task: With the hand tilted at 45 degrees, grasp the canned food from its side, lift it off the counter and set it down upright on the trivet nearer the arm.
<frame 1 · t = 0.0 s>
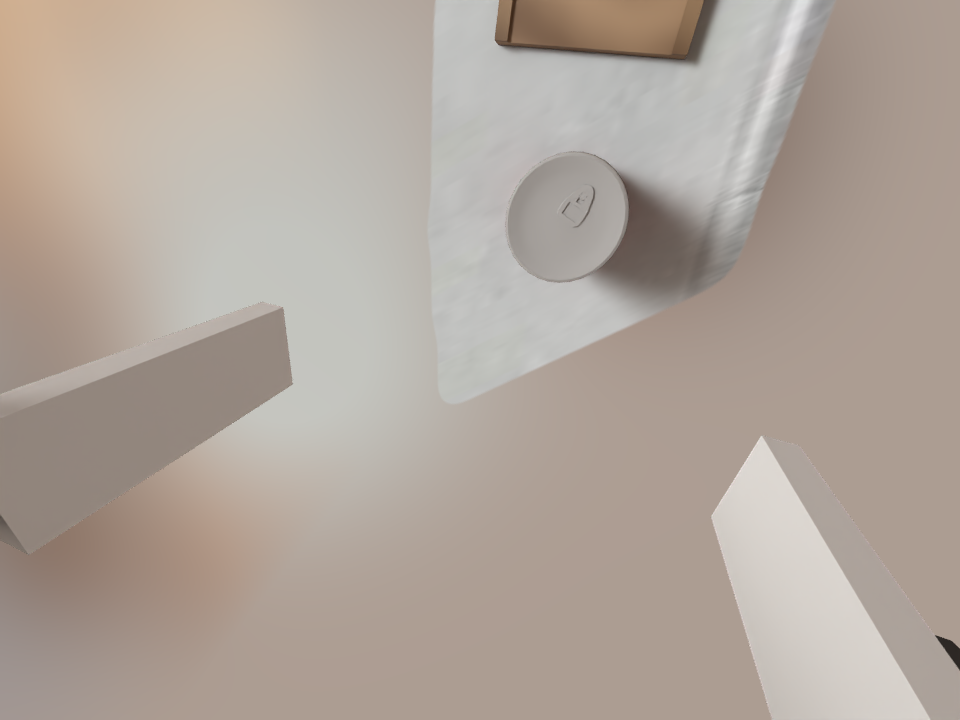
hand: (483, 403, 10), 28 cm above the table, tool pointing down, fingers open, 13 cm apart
canned food: (576, 209, 33), on the table
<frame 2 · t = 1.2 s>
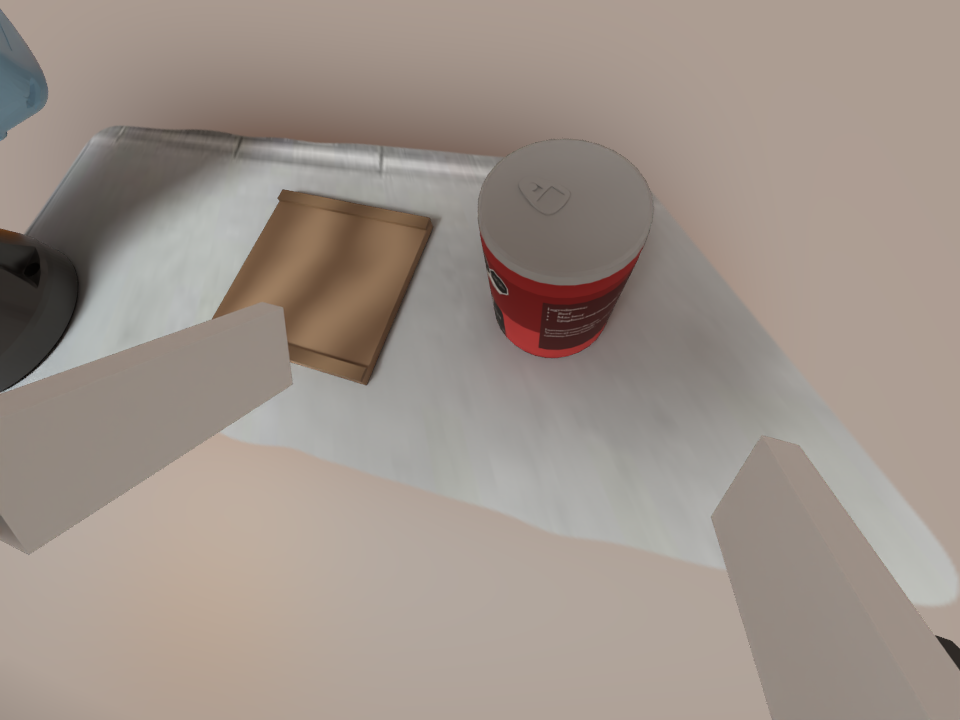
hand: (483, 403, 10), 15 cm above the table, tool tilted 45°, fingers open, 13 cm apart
canned food: (548, 312, 27), on the table
trivet: (324, 281, 30), on the table
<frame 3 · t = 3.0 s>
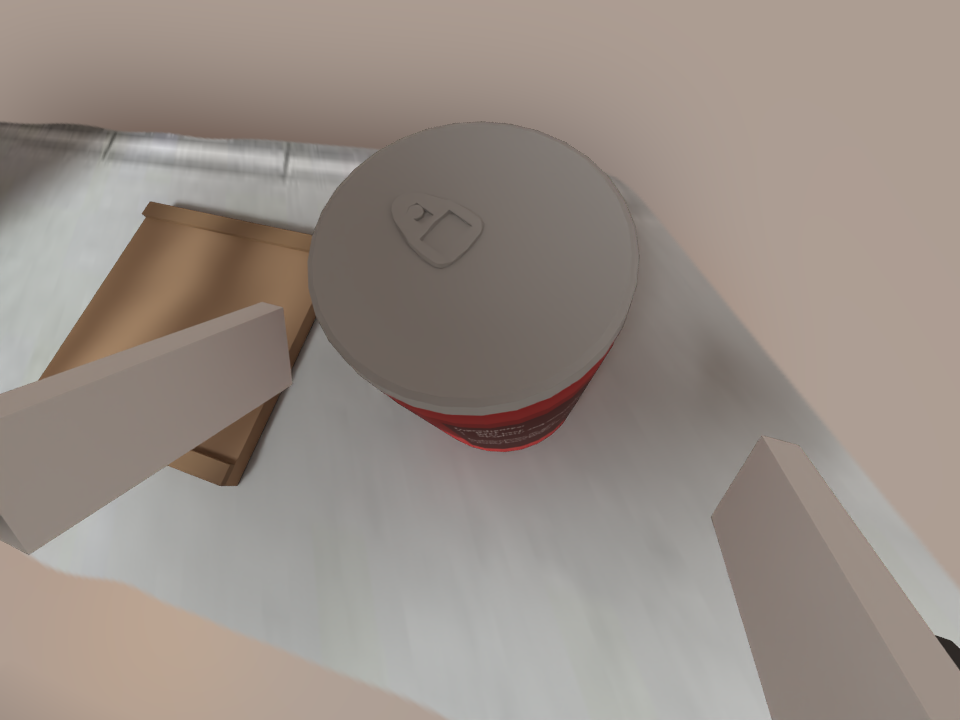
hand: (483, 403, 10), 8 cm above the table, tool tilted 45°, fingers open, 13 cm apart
canned food: (498, 376, 19), on the table
trivet: (195, 328, 22), on the table
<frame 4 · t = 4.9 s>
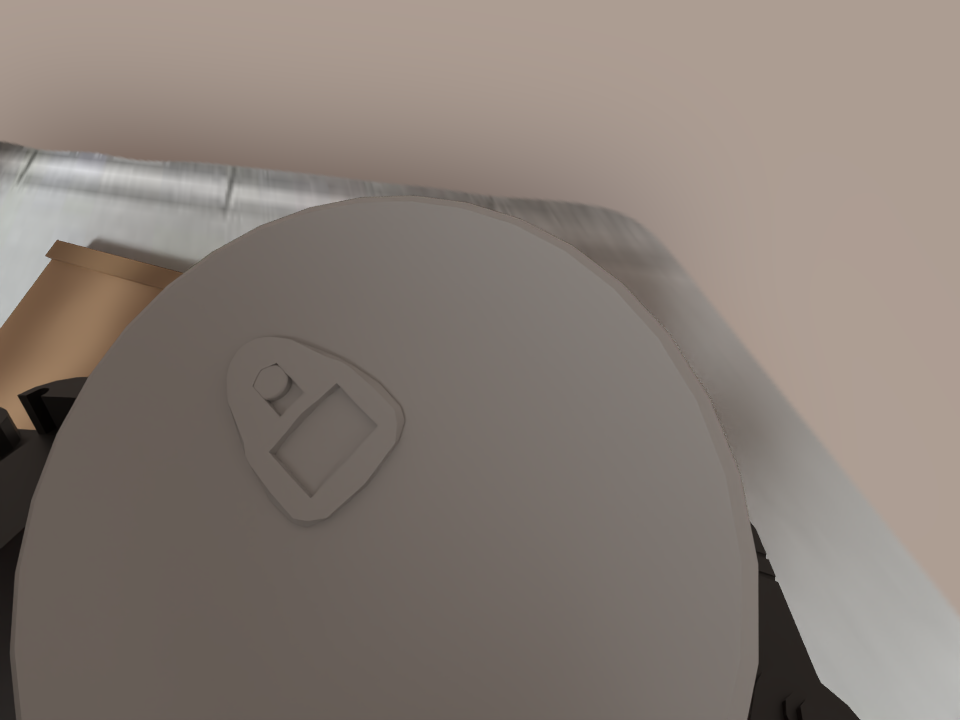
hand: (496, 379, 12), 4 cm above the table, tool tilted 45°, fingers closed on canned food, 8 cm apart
canned food: (479, 488, 14), on the table, touching gripper
trivet: (99, 406, 17), on the table
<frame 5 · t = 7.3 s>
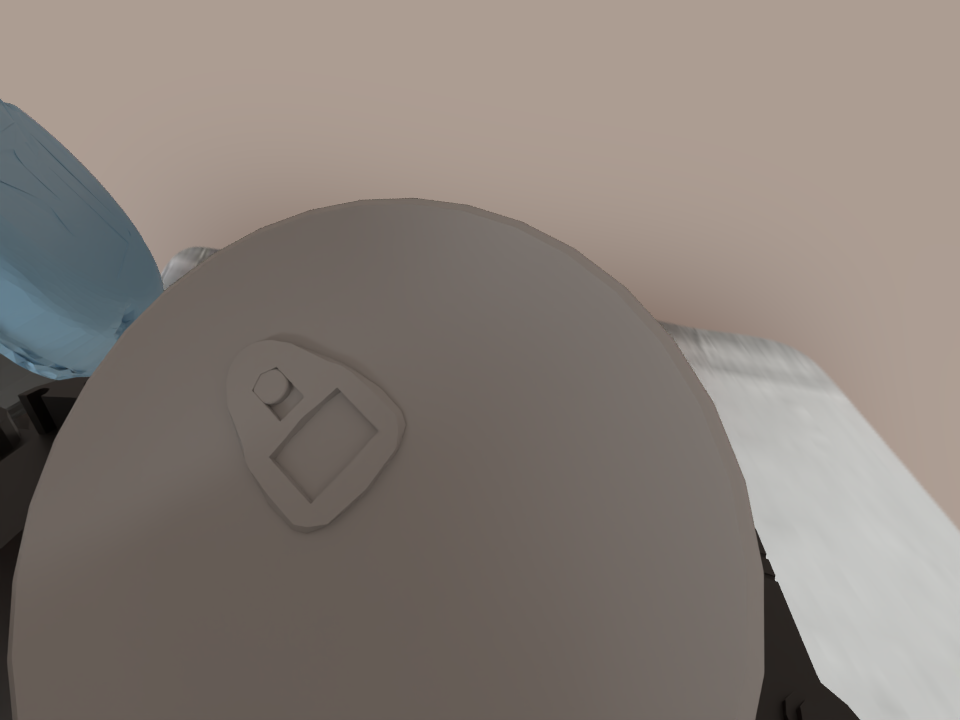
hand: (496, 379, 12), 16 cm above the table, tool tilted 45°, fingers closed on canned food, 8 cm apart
canned food: (479, 490, 14), point 12 cm above the table, touching gripper
when the fingers open (6 cm above the table, at t = 10.0 s): canned food drops 1 cm, resting on trivet.
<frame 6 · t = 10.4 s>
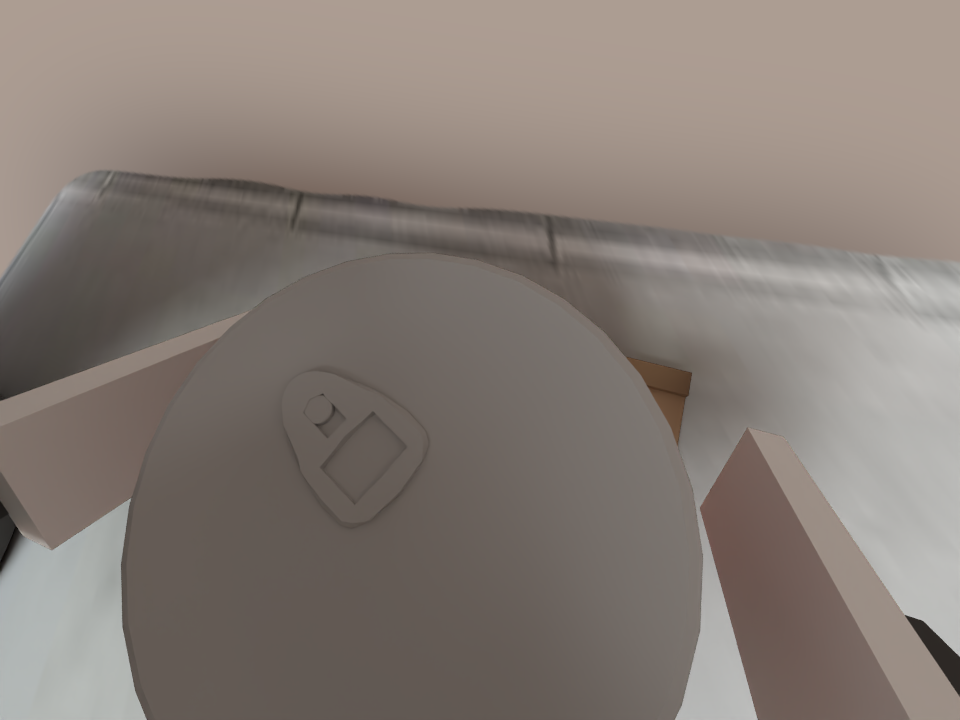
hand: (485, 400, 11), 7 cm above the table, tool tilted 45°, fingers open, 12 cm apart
canned food: (482, 491, 15), point 1 cm above the table, touching trivet
trivet: (483, 488, 16), on the table
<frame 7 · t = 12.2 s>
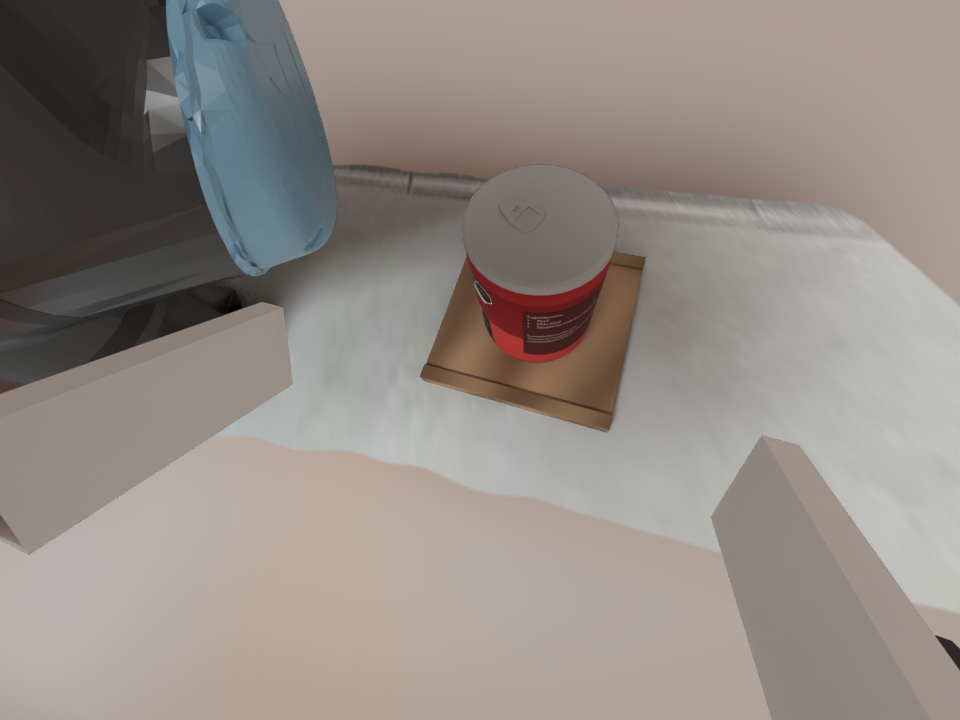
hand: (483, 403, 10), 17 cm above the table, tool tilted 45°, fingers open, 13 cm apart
canned food: (535, 320, 29), point 1 cm above the table, touching trivet
trivet: (534, 322, 30), on the table
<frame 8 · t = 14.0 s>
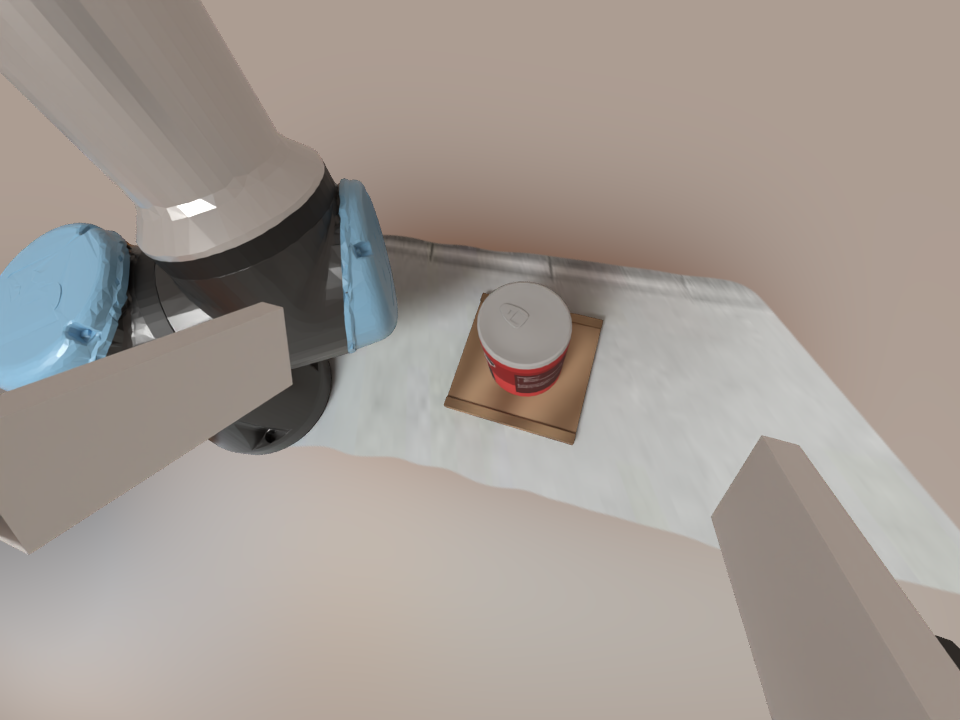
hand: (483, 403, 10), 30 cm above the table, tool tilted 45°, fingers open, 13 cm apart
canned food: (524, 364, 41), point 1 cm above the table, touching trivet
trivet: (524, 365, 42), on the table
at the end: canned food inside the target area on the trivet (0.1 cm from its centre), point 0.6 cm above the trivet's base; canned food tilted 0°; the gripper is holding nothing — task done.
